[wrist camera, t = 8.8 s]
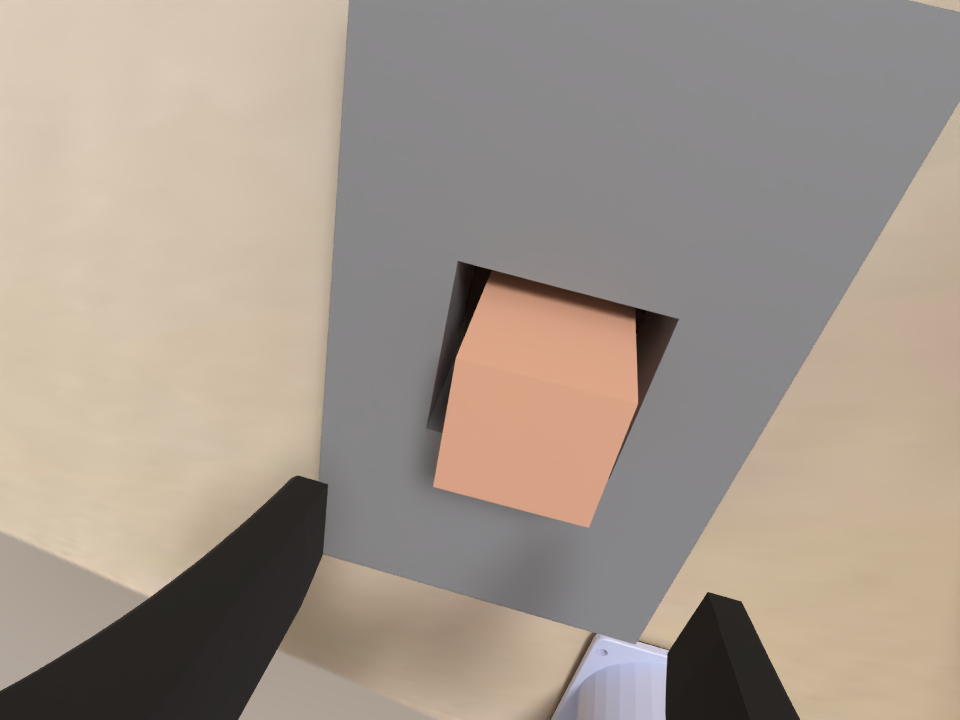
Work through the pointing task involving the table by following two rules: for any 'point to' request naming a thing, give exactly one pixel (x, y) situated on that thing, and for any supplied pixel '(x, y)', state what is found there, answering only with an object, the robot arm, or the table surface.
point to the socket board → (603, 252)
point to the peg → (539, 399)
